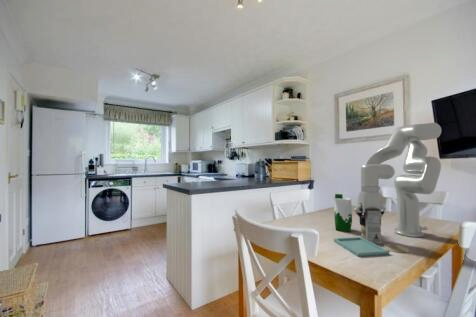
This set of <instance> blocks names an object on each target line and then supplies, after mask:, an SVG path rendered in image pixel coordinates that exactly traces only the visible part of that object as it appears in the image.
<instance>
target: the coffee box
mask: <svg viewBox="0 0 476 317" xmlns="http://www.w3.org/2000/svg"><path fill="white" fill-rule="evenodd" d="M362 214H363V213H362ZM364 218H365V226H362V225H360V234H361V235H360V237H361V238H363V239H365V240H368V241H370V242H372V243H374V244H382V231H381V230H382V229H381V227H382V217H380V210H379V209H366V212H365V216H364Z"/></svg>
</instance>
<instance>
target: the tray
mask: <svg viewBox="0 0 476 317" xmlns="http://www.w3.org/2000/svg"><path fill="white" fill-rule="evenodd" d="M333 242H334V243H335V244H336V245H339V246H340V247H342V248H343V249H345V250H347V251H348V252H350V253H352V254H353V255H355V256H356V257H358V258H361V257H363V258H364V257H375V256H387V255H390V250H387V249H385V247H382V246H380V245H377V243H372V242H370V241H368V240H365V239H363V238H362V237H361V236H353V237H336V238H333Z"/></svg>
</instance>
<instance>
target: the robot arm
mask: <svg viewBox="0 0 476 317" xmlns="http://www.w3.org/2000/svg"><path fill="white" fill-rule="evenodd" d="M441 134H442V127H441V126H440V124H438V123H437V122H428V123H414V124H409V125H401V126H399V127H396V128H395V129H394V130H393V132H392V134H391V135H390V137H389V138H388V140H387V142H386V143H385V145H384V146H383V147H382V148H380V149H379V150H377V151H376V152H375V153H373V154H372V155H371V156H369V157H368V159H367V161H366V162H365V163H364V164H362V165H361V167H360V189H361V191H359V194H358V198H357V199H358V200H357V205H356V206H355V207H354V209H353V210H354V212H355V214H356V215H357V216H358V217H359V225H360V226H361V225H362V226H365V218H364V216H365V212H366V209H379V210H380V217H381V218H382V217H383V215H384V214H385V212H386V210H387V208H386V207H385V206H384V205H382V204H383V203H382V198H381V192H380V191H379V190H381V187H380V185H379V180H389V179H392V178H393V177H394V175H395V174H396V171H395V168H394V167H393V166H392V165H390V164H384V162H386V161H389V160H392V159H395V158H398V157H399V156H401V155H402V154H403V152H404V151H405V149H406V148H407V153H406V155H405V158H404V159H405V160H404V162H403V165H402V168H403V169H402V170H403V172H404V173H406V174H399V175H398V176H396V177H395V179H394V182H393V183H394V189H395V192H396V216H397V218H396V220H397V221H396V222H397V228H394V230H393V231H394V233H396V234H398V235H401V236H405V237H412V238H422V237H424V232H422V231H426V230H428V226H426V225H421V224H420V200H419V198H418V196H417V195H416V194H419V195H432V194H433V193H434V191H435V190H436V188H437V185H438V180H439V177H440V175H441V174H440V173H441V171H442V170H441V168H442V163H441V161H440V160H439V158H438V157H435V156H429V155H428V148H427V146H426V145H425V144H424V143H423V142H422V141H428V140H434V139H435V140H436V139H437V138H439V137H440V136H441ZM362 213H363V214H362Z"/></svg>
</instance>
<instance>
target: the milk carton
mask: <svg viewBox="0 0 476 317" xmlns="http://www.w3.org/2000/svg"><path fill="white" fill-rule="evenodd" d="M333 201H334V205H333V206H334V210H333V211H334V226H335V231H339V232H345V233H351V228H352V226H353V225H352V224H353V204H352V197H346V196H343V194H342V193H335V194H334V199H333Z"/></svg>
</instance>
